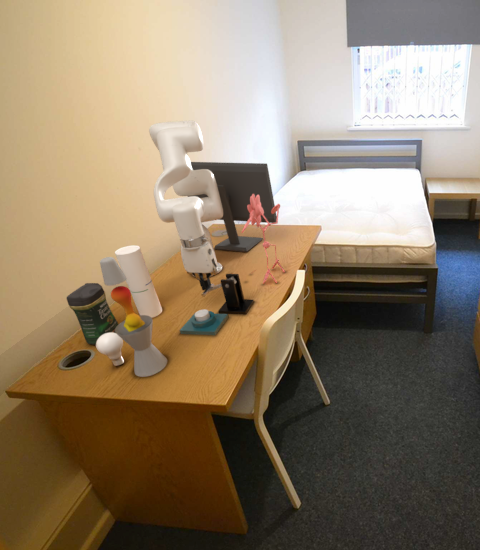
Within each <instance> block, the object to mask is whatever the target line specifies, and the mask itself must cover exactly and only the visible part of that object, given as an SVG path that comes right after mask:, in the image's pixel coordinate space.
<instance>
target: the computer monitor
mask: <svg viewBox="0 0 480 550" xmlns="http://www.w3.org/2000/svg"><path fill="white" fill-rule="evenodd" d="M190 162H191V166H192V169H193V170H200V169H208V170H210V171H211V172H212V173H213V175H214V177H215V180H216V183H217V187H218V191H219V195H220V199H221V203H222V208H223V217H222V218H221V219H218V220H217V221H223V223H224V227H225V231H226V234H227V238H225V239H224V240H222V241H220V242H219V243H216V244H214V245H215V246H213V248H214V250H216V251H227V252H240V253H247V252H249V251H251V249H253V248H254V247H255V246H256V245H257V244H259V243H260V242H261V241H262V240H264V237H259V236H258V237H256V236H242V235H238V231H237V227H236V222H247V221H248V220H249V218H250V213H249V211H248V209H247V205H251V204H250V197H251V196H252V194H254V195H255V198H256V196H257V195H259V196H260V203H261V207H262V208H263V210H264V214H263V215H264V216H265V218H266V219H267V221H268V222H269V223H276V220H277V211H276V212H275V213H274V214H272V213H271V210H272V209H273V208H274V207H275V206H276V205H275V200H274V194H273V189H272V184H271V177H270V171H269V166H268V163H265V162H264V163H262V162H261V163H260V162H259V163H255V162H216V161H215V162H213V161H211V162H209V161H190ZM193 196H196V197H199V198H204V197H208V196H207V195H206V194H200V195H193ZM187 197H190V196H187ZM250 223H251V221H250ZM261 223H267V222H266V220H265V219H264V217H263V216H262V215H261ZM267 224H268V223H267ZM277 224H279V221H278V222H277Z"/></svg>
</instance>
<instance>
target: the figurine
mask: <svg viewBox="0 0 480 550" xmlns="http://www.w3.org/2000/svg"><path fill="white" fill-rule="evenodd" d="M250 204H251V205H247V209H248V211H249V213H250V218H249V220H248V221H246V223H245V224H244V226H243V228H242V230H241V234H243V233H244V232H245V231H246V229H247V228H248V227H249V225H250V224H251V226H254V225H255V224H256V227H257V228H260V229H261V231H262V236H263V237H262V238H263V243H262V247H263V248H264V251H265V252H264V253H265V255H266V266H267V270H266V272H265V275H264V277H263V280H262V284H263V285H264V284H265V283H266V282H267V280H268V279H269V276H270V277H271V278H272V280H273V281H274V282H275V284H277V283H278V282H277V280H276V278H275V277H274V276H273V274H272V273H271V269H272V270H274V269H275V267H276V266H277V265H278V267H280V269H281V271H282V272H283V273H285V272H286V271H285V269H284V268H283V267H282V265H281V264H280V262H279V261H280V259H279V258H278V259H277V256H275V262H273V265H272V266H271V269H270V268H269V256H268V252H267V249H269V248H270V246H273V247H274V252H275V253H274V254H275V255H277V245H276V244H270V242H269V241H266V235H265V232H266V230H267V229H268V227H269V226H271V225H277V224H278V223H279V213H280V209H281V204H280V203H277V204H276V205H275V207H274V208H273V209H272V210H271V213H272V214H274V213H275V212H276V216H277V220H276V223H269V222H268V221H267V219H266V218H265V216H264V215H263V214H264V210H263V208H262V207H261V203H260V196H259V195H257V196H256V198H255V195H254V194H252V196H251V197H250ZM261 215H262V216H263V217H264V219H265V220H266V222H267V224H266V225H265V226H264V227H263V226H262V224H261V223H262V222H261ZM250 221H251V222H250ZM277 222H278V223H277ZM256 271H257V269H256V270H253V271H252V273H254V272H256Z"/></svg>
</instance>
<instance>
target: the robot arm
mask: <svg viewBox="0 0 480 550" xmlns="http://www.w3.org/2000/svg"><path fill="white" fill-rule="evenodd" d="M148 132H149V136H150V138H151V141H152V142H153V144H154V146H155V147H156V149H157V151H158V152H159V157H160V160H161V166H162V172H161V174H160V175H159V176H158V177H157V179H156V181H155V184H154V186H153V198H154V203H155V208H156V212H157V215H158V218H159V219H160V221H162V222H164V223H167V224H168V223H169V224H170V223H174V225H175V227H176V232H177V234H178V237H179V242H180V244H181V245H180V256H181V260H182V261H181V262H182V265H183V268H184V270H185V272H186V274H187V275H191V276H193V277H194V278H196V280H197V281H199V284H200V285H199V286H200V288H201V290H202V291H205V290H208V289H209V288H210V287H211V284H212V282H211V279H210V277H213V276H215V275H218V274H219V273H220V272H221V271H222V270H223V265H222V264H221V263H220V262H218V261H217V260H218V259H217V256H216V252H215V249H214V244H213V240H212V237H211V232H210V230H209V229H208V228H207V227H206V226H205V225H204V224H202V223H206V222H212V221H219V220H218V219H221V218H222V217H223V208H222V203H221V199H220V195H219V191H218V187H217V183H216V180H215V177H214V175H213V173H212V172H211V171H210V170H208V169H200V170H193V169H192V166H191V162H192V161H191V158H190V157H189V155H188V153H195V152H197V153H198V152H202V151H203V150H204V147H205V143H204V137H203V133H202V129H201V126H200V125H199V124H198V122H197V121H195V120H179V121H178V120H176V121H162V122H156V123H153V124H151V125H150V126H149V128H148ZM171 187H172V188H173V191H174V193H175V195H176V196H178V197H175V198H174V197H173V198H169V199H165V194H166V192H167V191H168V190H169V189H170V188H171ZM200 194H206V195H207V196H208V197H204V198H199V197H196V196H193V195H200ZM188 196H190V197H188Z"/></svg>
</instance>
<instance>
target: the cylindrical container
mask: <svg viewBox="0 0 480 550" xmlns="http://www.w3.org/2000/svg"><path fill="white" fill-rule="evenodd" d="M114 255H115V258H116V260H117V263H118V265H119V267H120V268H121V270H122V271H123V273H124V275H125V276H126V278H127V279H126V280H125V283H126V285H127V288H128V289H129V290H130V292H131V298H132V300H133V302H134V305H135V307H136V309H137V312H138V315H146V316H150V317H151V318H152V319H153V318H156V317H158V316H159V315H160V314H162V312H163V307H162V305H161V302H160V299H159V296H158V293H157V290H156V288H155V285H154V283H153V280H152V277H151V274H150V272H149V269H148V266H147V264H146V261H145V258H144V255H143V252H142V249H141V247H140V246H139V245H137V244H135V245H126V246H122V247H119V248H118V249H116V250H115V251H114Z"/></svg>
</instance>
